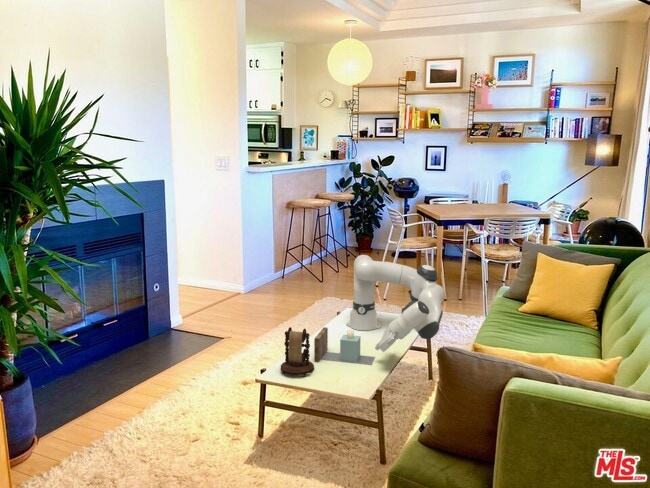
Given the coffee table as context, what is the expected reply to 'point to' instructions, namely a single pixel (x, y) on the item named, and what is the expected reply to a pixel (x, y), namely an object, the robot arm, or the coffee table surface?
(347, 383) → the coffee table surface
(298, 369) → the scroll
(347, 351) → the dowel block
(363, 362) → the grey flat rectangular plate
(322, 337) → the backstop wall
